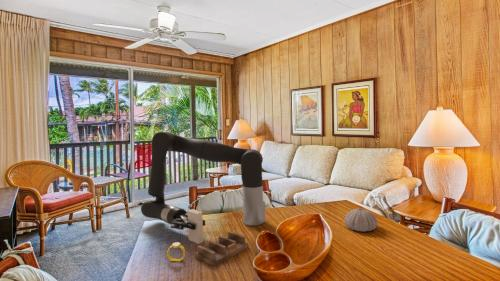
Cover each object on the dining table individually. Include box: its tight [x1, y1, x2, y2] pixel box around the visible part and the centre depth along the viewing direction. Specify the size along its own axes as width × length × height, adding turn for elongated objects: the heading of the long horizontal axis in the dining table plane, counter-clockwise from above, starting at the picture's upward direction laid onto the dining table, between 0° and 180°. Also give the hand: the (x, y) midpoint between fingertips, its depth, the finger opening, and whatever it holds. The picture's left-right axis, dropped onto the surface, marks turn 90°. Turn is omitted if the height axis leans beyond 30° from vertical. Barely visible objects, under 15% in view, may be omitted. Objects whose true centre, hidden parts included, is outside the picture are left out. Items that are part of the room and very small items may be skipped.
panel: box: [186, 208, 204, 245], centre depth 109 cm, size 6×2×12 cm, turn 50°
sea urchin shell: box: [344, 208, 378, 232], centre depth 118 cm, size 13×14×8 cm
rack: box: [194, 231, 249, 268], centre depth 99 cm, size 10×17×4 cm, turn 140°
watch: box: [166, 241, 186, 263], centre depth 94 cm, size 6×3×6 cm, turn 89°
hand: (199, 225), depth 107 cm, fingers open, 4 cm apart
